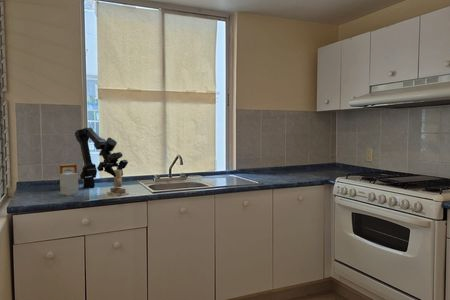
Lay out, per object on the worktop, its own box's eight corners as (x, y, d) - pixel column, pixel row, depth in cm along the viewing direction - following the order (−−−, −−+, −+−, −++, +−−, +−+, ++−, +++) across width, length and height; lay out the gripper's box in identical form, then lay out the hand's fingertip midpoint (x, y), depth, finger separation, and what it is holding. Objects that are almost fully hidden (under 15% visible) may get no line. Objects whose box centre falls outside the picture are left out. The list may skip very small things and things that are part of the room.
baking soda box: (60, 190, 218) (60, 165, 217) (60, 188, 223) (59, 164, 222) (76, 188, 222) (76, 164, 221) (75, 187, 228) (75, 163, 227)
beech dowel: (113, 187, 203) (113, 170, 203) (114, 185, 208) (114, 169, 207) (121, 187, 204) (121, 170, 204) (121, 185, 209) (121, 169, 208)
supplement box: (79, 193, 206) (78, 173, 205) (67, 195, 200) (67, 174, 199) (71, 192, 210) (70, 172, 209) (60, 194, 204) (59, 173, 203)
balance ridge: (106, 193, 206) (106, 188, 206) (118, 191, 213) (117, 186, 213) (117, 196, 200) (117, 190, 200) (129, 194, 206) (129, 188, 206)
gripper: (99, 148, 199) (111, 168, 194) (126, 147, 214) (137, 165, 208) (92, 160, 205) (103, 181, 199) (118, 158, 219) (129, 177, 214)
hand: (119, 175), depth 205 cm, fingers closed on beech dowel, 4 cm apart
